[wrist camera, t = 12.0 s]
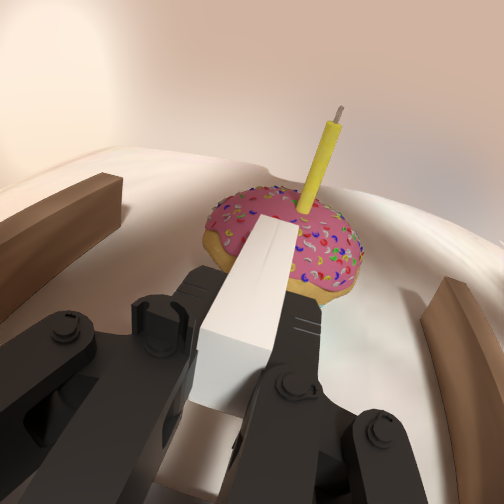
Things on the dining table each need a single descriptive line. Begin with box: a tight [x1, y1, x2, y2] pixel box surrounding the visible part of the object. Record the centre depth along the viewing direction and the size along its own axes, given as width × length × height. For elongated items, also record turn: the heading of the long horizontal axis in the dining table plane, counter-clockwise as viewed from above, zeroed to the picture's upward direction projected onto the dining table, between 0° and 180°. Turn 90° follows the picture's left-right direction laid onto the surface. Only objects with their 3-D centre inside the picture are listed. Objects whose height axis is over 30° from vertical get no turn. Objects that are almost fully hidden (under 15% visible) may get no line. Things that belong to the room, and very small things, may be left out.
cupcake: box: [203, 106, 364, 308], centre depth 16 cm, size 9×8×12 cm
